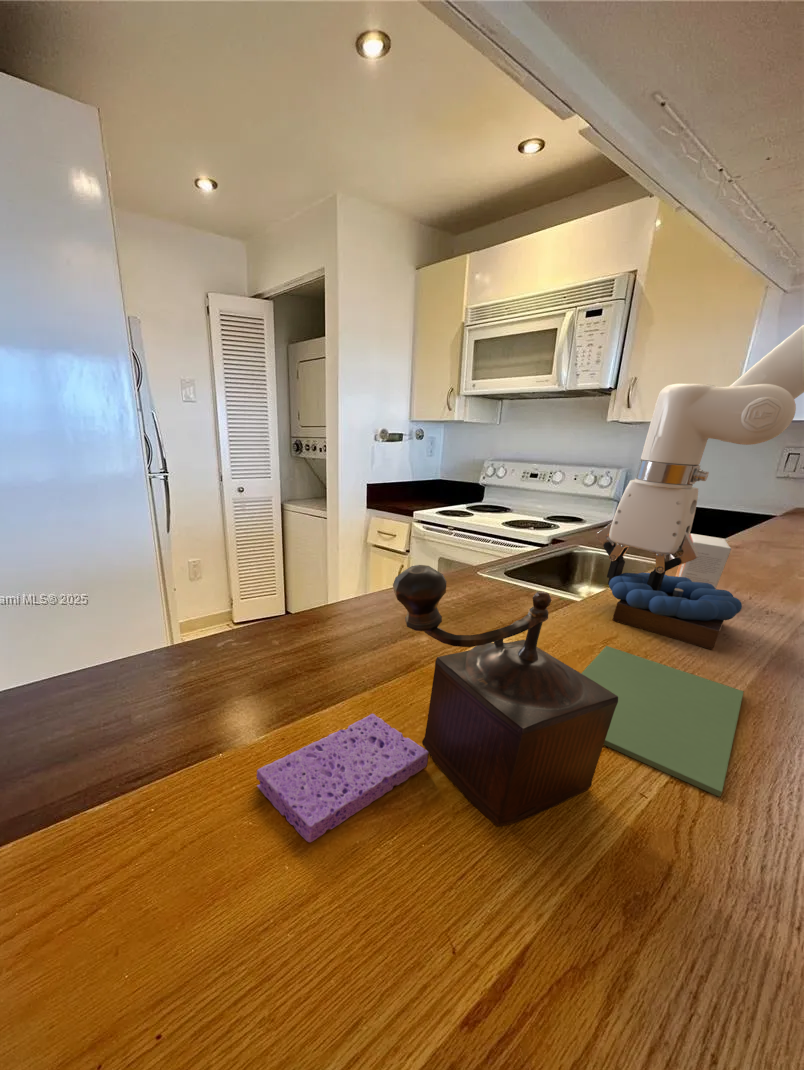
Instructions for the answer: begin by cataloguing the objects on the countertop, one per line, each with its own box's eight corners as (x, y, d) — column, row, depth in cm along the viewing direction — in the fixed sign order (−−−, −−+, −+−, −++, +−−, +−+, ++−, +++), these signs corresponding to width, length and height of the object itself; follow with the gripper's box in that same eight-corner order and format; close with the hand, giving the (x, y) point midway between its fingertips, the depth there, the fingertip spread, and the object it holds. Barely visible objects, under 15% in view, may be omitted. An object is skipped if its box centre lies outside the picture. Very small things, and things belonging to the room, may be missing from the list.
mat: (605, 649, 64) (606, 645, 64) (742, 695, 55) (744, 691, 55) (543, 717, 48) (544, 713, 48) (719, 797, 40) (722, 792, 39)
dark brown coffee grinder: (501, 715, 48) (537, 545, 42) (593, 790, 39) (659, 589, 33) (367, 755, 42) (384, 560, 35) (441, 856, 33) (485, 620, 26)
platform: (632, 599, 83) (641, 570, 81) (722, 623, 75) (735, 591, 73) (612, 620, 74) (621, 587, 72) (712, 650, 66) (726, 614, 64)
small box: (671, 585, 91) (689, 532, 87) (706, 592, 89) (726, 538, 85) (672, 598, 85) (692, 541, 81) (710, 605, 82) (732, 547, 78)
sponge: (427, 769, 40) (429, 751, 40) (307, 847, 33) (308, 827, 32) (371, 727, 45) (373, 711, 45) (255, 786, 37) (255, 768, 37)
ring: (699, 590, 80) (704, 575, 79) (763, 628, 66) (771, 610, 65) (591, 582, 81) (596, 566, 80) (633, 617, 67) (638, 599, 66)
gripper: (740, 482, 67) (697, 600, 74) (616, 466, 79) (588, 570, 86) (726, 485, 62) (682, 611, 69) (596, 468, 74) (569, 577, 81)
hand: (631, 587), depth 77 cm, fingers closed on ring, 4 cm apart
